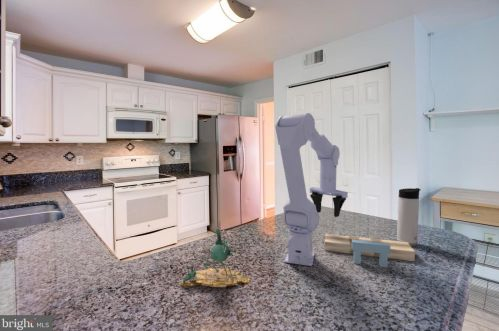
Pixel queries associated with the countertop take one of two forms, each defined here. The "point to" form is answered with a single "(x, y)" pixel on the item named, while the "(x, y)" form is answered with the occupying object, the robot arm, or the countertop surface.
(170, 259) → the countertop surface
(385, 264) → the clip
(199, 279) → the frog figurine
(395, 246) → the rail
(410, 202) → the travel mug
